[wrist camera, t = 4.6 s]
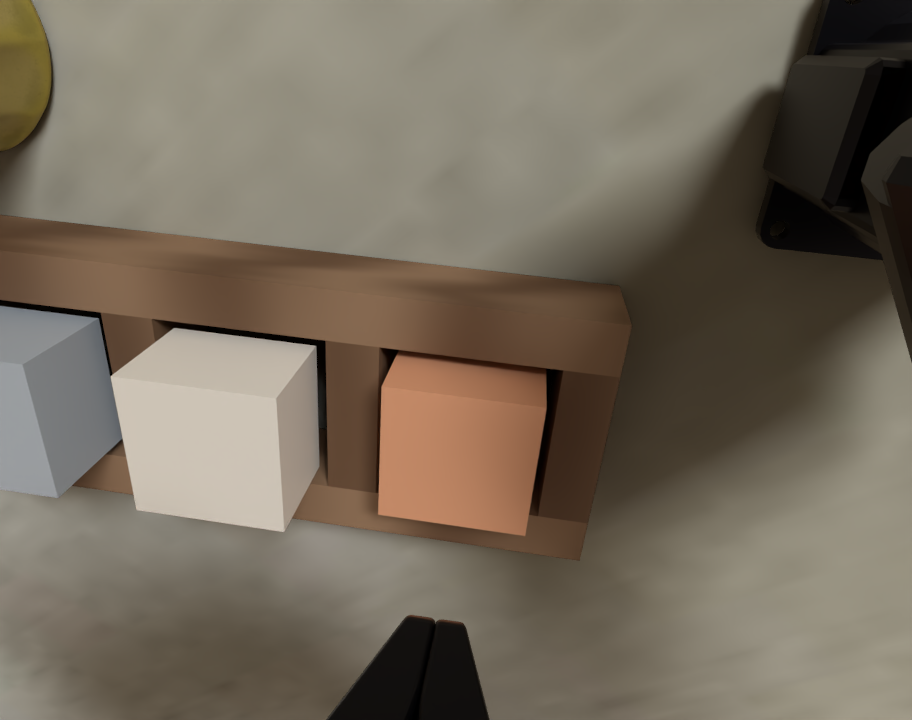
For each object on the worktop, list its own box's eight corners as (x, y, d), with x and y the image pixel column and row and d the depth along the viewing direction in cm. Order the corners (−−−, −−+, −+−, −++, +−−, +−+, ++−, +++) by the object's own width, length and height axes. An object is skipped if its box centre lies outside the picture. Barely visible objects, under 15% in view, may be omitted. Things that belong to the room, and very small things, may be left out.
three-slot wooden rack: (619, 285, 19) (632, 325, 16) (575, 498, 22) (579, 560, 20) (-41, 210, 20) (-130, 235, 17) (18, 420, 24) (-48, 467, 21)
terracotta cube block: (546, 355, 18) (546, 407, 16) (527, 471, 20) (525, 535, 18) (404, 338, 19) (381, 386, 16) (399, 454, 21) (378, 514, 18)
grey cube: (98, 318, 18) (22, 364, 16) (122, 438, 20) (58, 498, 17) (-37, 301, 19) (-134, 343, 16) (0, 421, 20) (-82, 477, 18)
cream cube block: (316, 345, 18) (276, 398, 15) (319, 466, 20) (284, 531, 17) (174, 327, 18) (110, 376, 15) (190, 448, 20) (136, 509, 17)
